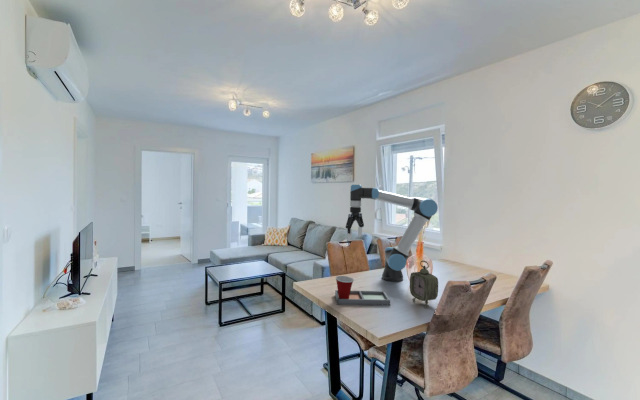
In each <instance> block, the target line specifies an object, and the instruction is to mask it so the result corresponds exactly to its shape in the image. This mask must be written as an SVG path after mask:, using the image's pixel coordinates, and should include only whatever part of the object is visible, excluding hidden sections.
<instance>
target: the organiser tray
mask: <svg viewBox="0 0 640 400" xmlns="http://www.w3.org/2000/svg"><path fill="white" fill-rule="evenodd" d="M334 297H335V301H336V302H335V303H336V305H337V306H340V305H341V306H391V299H390V298H389V296H388V294H387V293H386V292H385V290H351V291H350V295H349V299H339V295H338V289H336V290H334Z"/></svg>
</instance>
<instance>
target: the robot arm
mask: <svg viewBox="0 0 640 400" xmlns="http://www.w3.org/2000/svg"><path fill="white" fill-rule="evenodd" d="M349 191H350V195H349V198H350V199H349V200H350V201H349V202H350V204H349V206H350V207H349V212H350V213H349V214H348V215H347V216H348V217H347V220H346V224H345V229H347V230H346V231H347V239H352V230H353V229H352V228H353V225H354V223H355V222H356V223H357V224H358V227H357V228H358V229H357V236H358V237H363V228H364V226H365V225H364V224H365V223H364V219H363V213H362V212H361V211H362V208H361V207H362V199H370V200H374V201H378V202H379V201H380V202H384V203H387V204H390V205H396V206H399V207H402V208H408V210H409V211H413V218H412V219H411V220H410V223H409V224H408V226H407V227H406V230H405V231H404V233H403V234H402V237H401V239H400V240H399V242H398V243H397V245H395V246H393V247H391V246H389V247H388V246H387V247H385V251H384V269H383V272H382V275H381V278H382V279H383V280H385V281H388V282H402V281H403V280H404V274H403V271H402V270H403V269H405V268H406V265H407V261H408V259H409V256H410V254H409V252H410V251H411V249H412V247H413V245H414V243H415V242H416V240H417V238H418V237H419V235H420V233H421V232H422V230H423V228H424V226H425V224H426V223H427V222H429V221H431V219H432V217H433V216H435V214H437V212H438V204H437V202H436V201H435V200H434V199H432V198H429V197H426V198H425V197H415V196H412V197H409V196H404V195H402V194H397V193H393V192H388V191H385V190H384V191H383V190H381V189H379V188H378V187H363V186H362V184H351V185H350V190H349Z"/></svg>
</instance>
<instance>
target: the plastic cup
mask: <svg viewBox="0 0 640 400" xmlns="http://www.w3.org/2000/svg"><path fill="white" fill-rule="evenodd" d="M335 281H336V285H337V287H336V289H337V290H338V295H339V299H349V295H350V291H352V290H351V289H352V286H353V283H354V282H355V279H354V278H353V277H351V276H346V275H337V276H335Z"/></svg>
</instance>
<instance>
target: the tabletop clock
mask: <svg viewBox="0 0 640 400" xmlns="http://www.w3.org/2000/svg"><path fill="white" fill-rule="evenodd" d="M419 263H420V267H421V268H420V270H419V271H417V272H416V271H415V272H413V271H412V272H411V273H410V276H409V293H410V295H411V296H412V297H414V298H412V301H413V302H416V299H417V300H419V301H421V302H424V303H425V305H424V307H425V309H427V308H429V307H428V303H429V302H428V301H434V300H437V298H438V296H439V279H438V277H437V276H435V275H434V274H432V273H430V272H429V269H428V268H429V267H430V266H429V265H430V264H429V263H428V262H427V261H426V260H421V261H420V262H419ZM422 263H425V264H426V265H427V267H426V265H422Z"/></svg>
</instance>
